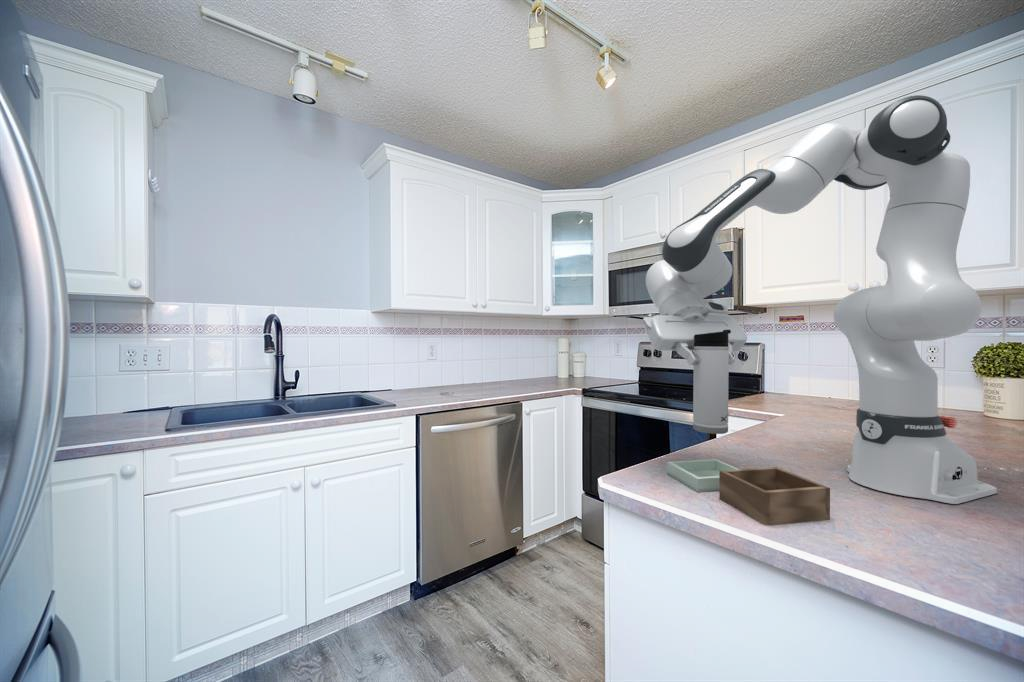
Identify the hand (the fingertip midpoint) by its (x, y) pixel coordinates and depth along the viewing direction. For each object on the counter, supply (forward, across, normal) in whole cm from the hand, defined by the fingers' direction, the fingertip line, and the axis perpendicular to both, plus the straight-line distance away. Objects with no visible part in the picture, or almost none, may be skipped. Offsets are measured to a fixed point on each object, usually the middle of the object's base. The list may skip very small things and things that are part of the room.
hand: (712, 363), depth 81 cm
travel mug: (+9, 0, +10) cm, 14 cm away
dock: (+16, 0, +18) cm, 24 cm away
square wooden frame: (+26, +2, +8) cm, 27 cm away
